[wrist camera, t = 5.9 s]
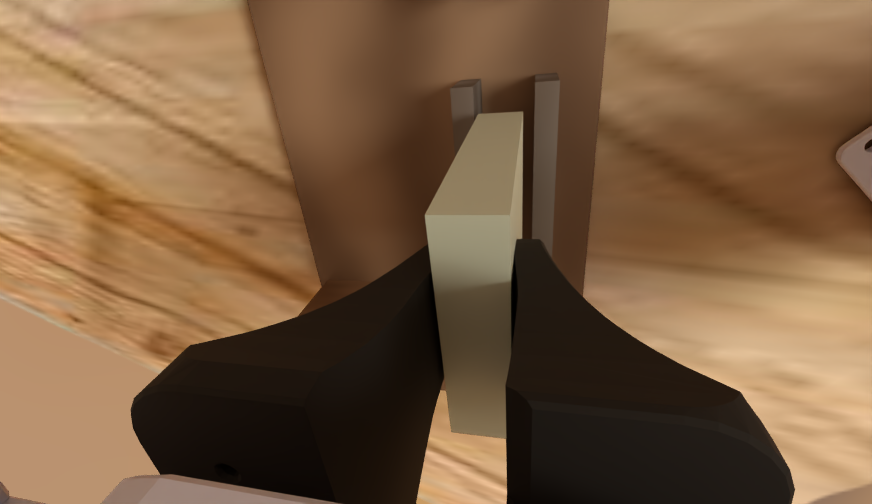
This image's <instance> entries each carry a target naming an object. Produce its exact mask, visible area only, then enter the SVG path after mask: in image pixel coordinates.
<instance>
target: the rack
mask: <svg viewBox="0 0 872 504" xmlns="http://www.w3.org/2000/svg"><path fill="white" fill-rule="evenodd" d="M247 1H248V5H249V9H250V13H251V17H252V20H253V24H254V28H255V32H256V36H257V40H258V43H259V47H260V51H261V55H262V59H263V63H264V66H265V70H266V74H267V78H268V82H269V86H270V90H271V93H272V97H273V101H274V105H275V109H276V113H277V116H278V120H279V124H280V128H281V132H282V136H283V139H284V143H285V147H286V151H287V155H288V159H289V163H290V166H291V170H292V174H293V178H294V182H295V186H296V189H297V193H298V197H299V201H300V205H301V209H302V212H303V216H304V220H305V224H306V228H307V232H308V236H309V239H310V243H311V247H312V251H313V255H314V259H315V262H316V266H317V270H318V274H319V278H320V282H321V285H322V288H321V289H320V290H319V291H318V292H317V294H316V295H315V296H314V297H313V299H312V300H311V301H310V302H309V303H308V305H307V306H306V307H305V308H304V310H303V311H302V312H301V313H300V314H299V316H301V315H303V314H306V313H308V312H311V311H313V310H316V309H318V308H321V307H323V306H326V305H328V304H330V303H333V302H335V301H337V300H339V299H341V298H343V297H345V296H347V295H349V294H351V293H353V292H355V291H357V290H359V289H361V288H363V287H365V286H366V285H368V284H370V283H371V282H373V281H375V280H376V279H378V278H379V277H381V276H382V275H384V274H386V273H387V272H389V271H390V270H392V269H393V268H395V267H396V266H398V265H399V264H401V263H402V262H404V261H405V260H406V259H408V258H409V257H410V256H412V255H413V254H415V253H416V252H417V251H419V250H420V249H421V248H423V247H424V246H426V245H427V244H428V238H427V230H426V222H425V214H426V212H427V210H428V208H429V206H430V204H431V202H432V200H433V198H434V197H435V195H436V193H437V191H438V189H439V187H440V185H441V183H442V181H443V180H444V178H445V176H446V174H447V172H448V170H449V168H450V166H451V164H452V163H453V161H454V159H455V157H456V155H457V153H458V151H459V149H460V147H461V146H462V144H463V142H464V140H465V138H466V136H467V134H468V132H469V130H470V129H471V127H472V125H473V123H474V121H475V119H476V117H477V115H478V114H487V113H505V112H523V197H522V239H540V240H541V241H542V242H543V243H544V245H545V247H546V249H547V251H548V253H549V254H550V256H551V258H552V259H553V261H554V262H555V264H556V265H557V267H558V268H559V269H560V271H561V272H562V273H563V275H564V276H565V277H566V278H567V280H568V281H569V282H570V283H571V284H572V286H573V287H574V288H575V289H576V290H577V291H578V292H579V293H580V294H581V296H582V297H583V286H584V275H585V264H586V253H587V242H588V231H589V220H590V208H591V197H592V186H593V175H594V164H595V153H596V142H597V131H598V120H599V109H600V97H601V86H602V75H603V64H604V53H605V42H606V31H607V20H608V9H609V0H247ZM441 390H445V391H446V385H445V377H444V380H443V383H442V386H441Z"/></svg>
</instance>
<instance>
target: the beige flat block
mask: <svg viewBox="0 0 872 504" xmlns="http://www.w3.org/2000/svg"><path fill="white" fill-rule="evenodd" d="M522 197H523V112H505V113H487V114H478V115H477V117H476V119H475V121H474V123H473V125H472V127H471V129H470V130H469V132H468V134H467V136H466V138H465V140H464V142H463V144H462V146H461V147H460V149H459V151H458V153H457V155H456V157H455V159H454V161H453V163H452V164H451V166H450V168H449V170H448V172H447V174H446V176H445V178H444V180H443V181H442V183H441V185H440V187H439V189H438V191H437V193H436V195H435V197H434V198H433V200H432V202H431V204H430V206H429V208H428V210H427V212H426V214H425V222H426V230H427V238H428V246H429V254H430V263H431V271H432V279H433V287H434V295H435V303H436V311H437V320H438V328H439V336H440V344H441V352H442V360H443V369H444V377H445V385H446V393H447V401H448V409H449V417H450V426H451V432H454V433H463V434H471V435H479V436H487V437H496V438H504V439H506V391H505V385H506V380H507V375H508V369H509V364H510V358H511V351H512V344H513V337H514V251H515V245H516V240H517V239H522Z"/></svg>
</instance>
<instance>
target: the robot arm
mask: <svg viewBox="0 0 872 504" xmlns="http://www.w3.org/2000/svg"><path fill="white" fill-rule="evenodd" d="M871 139H872V126H870V127H869V128H867V129H866V130H864V131H863V132H861V133H860V134H858V135H857V136H855V137H854V138H852V139H851V140H849V141H848V142H846V143H845V144H843V145H842V146H841V147H840V148H839V149H838V151H837V153H836V160H837V162H838V163H839V165H840V166H841V167H842V168H843V169H844V170H845V171H846V173H847V174H848V175H849V176H850V177H851V178H852V179H853V181H854V182H855V183H856V184H857V185H858V186H859V187H860V189H861V190H862V191H863V192H864V193H865V194H866V195H867V197H868V198H869V199H870V200H871V201H872V146H871V147H870V148H868V149H866V150H865V149H864V147H865V144H866V143H867V142H868V141H869V140H871ZM443 380H444V369H443V360H442V352H441V344H440V336H439V328H438V320H437V311H436V303H435V295H434V287H433V279H432V271H431V263H430V254H429V246H428V244H427V245H426V246H424V247H423V248H421V249H420V250H419V251H417V252H416V253H415V254H413V255H412V256H410V257H409V258H408V259H406V260H405V261H404V262H402V263H401V264H399V265H398V266H396V267H395V268H393V269H392V270H390V271H389V272H387V273H386V274H384V275H382V276H381V277H379V278H378V279H376V280H375V281H373V282H371V283H370V284H368V285H366V286H365V287H363V288H361V289H359V290H357V291H355V292H353V293H351V294H349V295H347V296H345V297H343V298H341V299H339V300H337V301H335V302H333V303H330V304H328V305H326V306H323V307H321V308H318V309H316V310H313V311H311V312H308V313H306V314H303V315H301V316H298V317H295V318H292V319H289V320H287V321H284V322H281V323H278V324H274V325H271V326H268V327H264V328H261V329H257V330H254V331H250V332H246V333H243V334H238V335H234V336H230V337H225V338H221V339H217V340H212V341H208V342H204V343H199V344H194V345H190V346H189V347H188V348H186V349H185V350H184V351H183V352H182V353H181V354H180V355H179V356H178V357H177V358H176V359H175V360H174V361H173V362H172V363H171V364H170V365H168V366H167V367H166V368H165V369H164V370H163V371H162V372H161V373H160V374H159V375H158V376H157V377H156V378H155V379H154V380H153V381H152V382H151V383H150V384H148V385H147V386H146V387H145V388H144V389H143V390H142V391H141V392H140V393H139V394H138V395H137V396H136V397H135V398H134V401H133V404H132V407H131V418H132V424H133V429H134V431H135V433H136V435H137V437H138V439H139V441H140V443H141V445H142V446H143V448H144V449H145V451H146V453H147V454H148V456H149V457H150V459H151V460H152V462H153V464H154V465H155V467H156V468H157V470H158V471H159V473H160V475H145V476H144V475H143V476H135V477H130V478H125V479H123V480H122V481H121V482H120V483H119V484H118V485H117V486H116V488H115V489H114V490H113V491H112V492H111V493H110V494H109V495H108V496H107V498H106V499H105V500H104V501H103V502H102V503H101V504H416V500H417V495H418V489H419V484H420V479H421V473H422V468H423V463H424V457H425V452H426V447H427V442H428V437H429V432H430V428H431V423H432V418H433V414H434V410H435V406H436V402H437V399H438V396H439V393H440V390H441V386H442V383H443ZM505 391H506V451H507V504H791V503H792V499H793V495H794V491H795V488H794V484H793V480H792V476H791V472H790V469H789V467H788V466H787V464H786V462H785V460H784V459H783V457H782V455H781V453H780V451H779V450H778V448H777V446H776V444H775V443H774V441H773V439H772V438H771V436H770V434H769V433H768V431H767V430H766V428H765V427H764V425H763V423H762V422H761V420H760V419H759V418H758V416H757V415H756V414H755V412H754V411H753V409H752V408H751V407H750V405H749V404H748V403H747V401H746V400H745V398H744V397H743V395H742V394H741V392H740V391H737V390H735V389H733V388H731V387H729V386H726V385H724V384H722V383H720V382H718V381H716V380H713V379H711V378H709V377H707V376H705V375H702V374H700V373H698V372H696V371H694V370H691V369H689V368H687V367H685V366H683V365H681V364H679V363H677V362H675V361H674V360H672V359H670V358H668V357H666V356H664V355H663V354H661V353H659V352H657V351H655V350H654V349H652V348H650V347H649V346H647V345H645V344H644V343H642V342H640V341H639V340H637V339H636V338H634V337H633V336H631V335H630V334H628V333H627V332H625V331H624V330H622V329H621V328H619V327H618V326H617V325H615V324H614V323H612V322H611V321H610V320H609V319H607V318H606V317H605V316H603V315H602V314H601V313H600V312H599V311H598V310H596V309H595V308H594V307H593V306H592V305H591V304H589V303H588V302H587V301H586V300H585V299H584V298H583V297H582V296H581V294H580V293H579V292H578V291H577V290H576V289H575V288H574V287H573V286H572V284H571V283H570V282H569V281H568V280H567V278H566V277H565V276H564V275H563V273H562V272H561V271H560V269H559V268H558V267H557V265H556V264H555V262H554V261H553V259H552V258H551V256H550V254H549V253H548V251H547V249H546V247H545V245H544V243H543V242H542V241H541V240H540V239H517V240H516V245H515V251H514V337H513V344H512V351H511V358H510V364H509V369H508V375H507V380H506V385H505ZM0 504H45V503H40V502H35V501H31V500H26V499H21V498H16V497H12V496H9V491H8V490H7V489H6V487H5V486H4V485H3V484H2V483H1V482H0Z"/></svg>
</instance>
